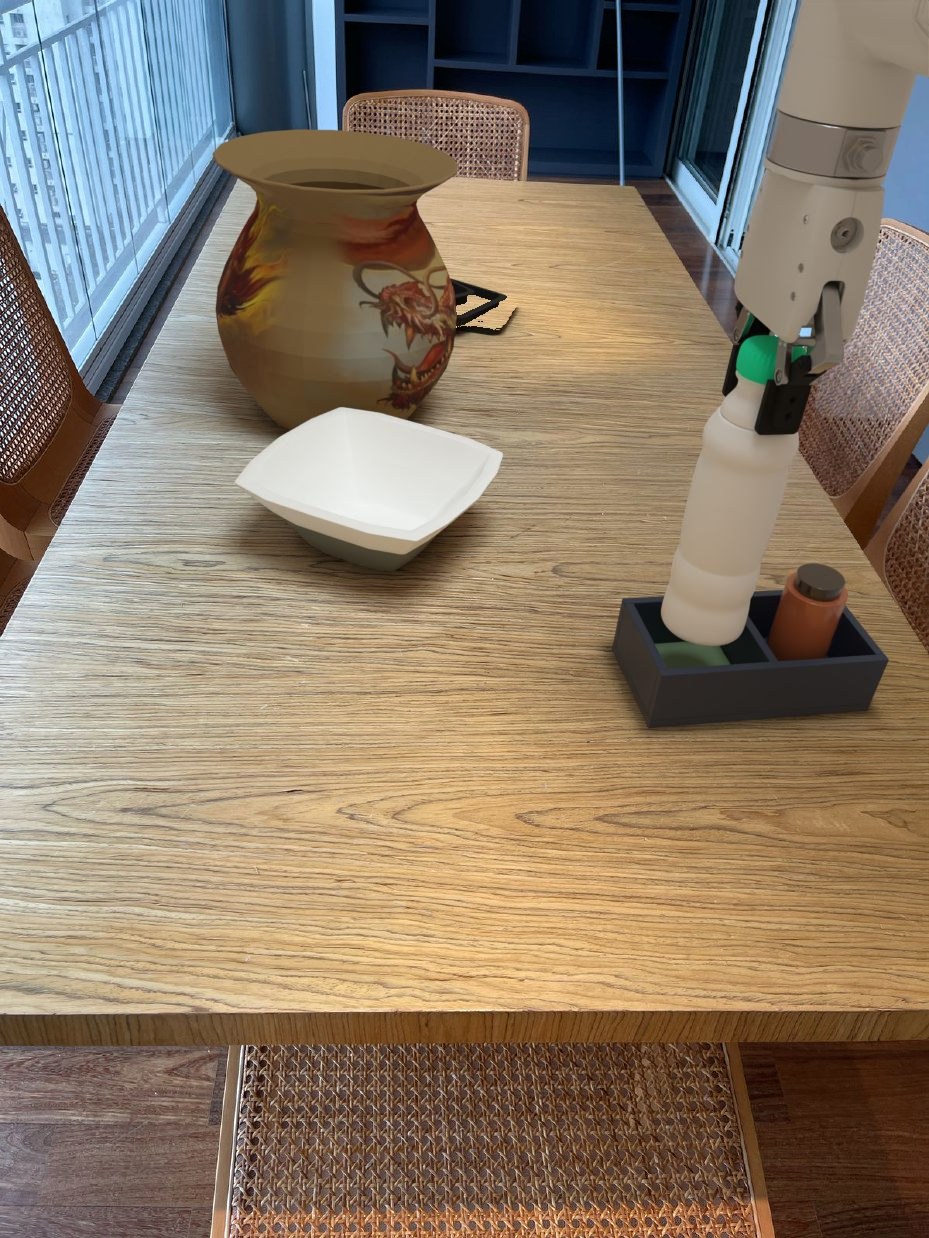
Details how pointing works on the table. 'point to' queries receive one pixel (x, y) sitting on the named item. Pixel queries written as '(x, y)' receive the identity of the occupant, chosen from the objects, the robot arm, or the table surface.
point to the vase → (335, 274)
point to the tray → (461, 298)
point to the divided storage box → (740, 669)
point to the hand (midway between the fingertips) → (758, 411)
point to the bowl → (369, 484)
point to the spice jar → (808, 613)
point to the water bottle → (729, 508)
